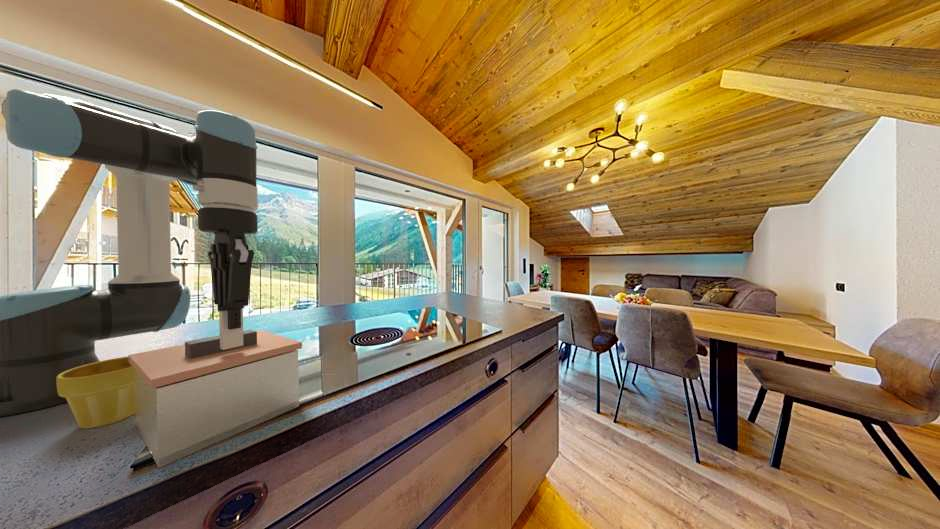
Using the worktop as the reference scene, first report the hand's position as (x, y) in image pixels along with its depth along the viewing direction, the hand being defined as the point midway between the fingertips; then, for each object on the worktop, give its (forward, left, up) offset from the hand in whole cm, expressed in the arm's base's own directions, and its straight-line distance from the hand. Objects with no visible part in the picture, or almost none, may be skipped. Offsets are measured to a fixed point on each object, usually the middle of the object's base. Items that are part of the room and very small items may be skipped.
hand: (231, 346), depth 46 cm
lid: (-6, 0, -2) cm, 6 cm away
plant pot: (-23, -11, -14) cm, 29 cm away
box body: (-6, 0, -14) cm, 15 cm away
